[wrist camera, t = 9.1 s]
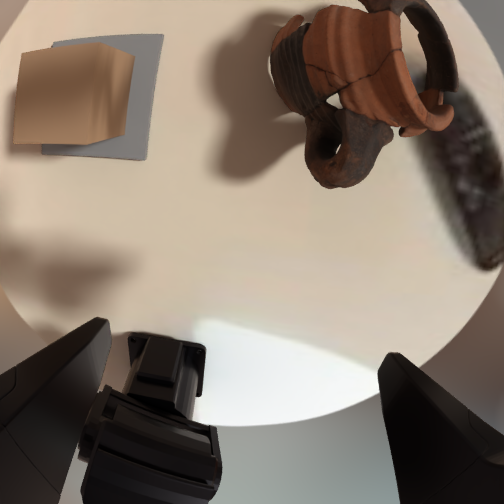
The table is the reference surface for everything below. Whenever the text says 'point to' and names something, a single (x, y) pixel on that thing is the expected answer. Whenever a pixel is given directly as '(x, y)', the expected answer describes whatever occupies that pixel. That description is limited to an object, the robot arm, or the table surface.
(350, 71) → the pottery mug
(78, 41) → the felt coaster
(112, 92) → the walnut block
